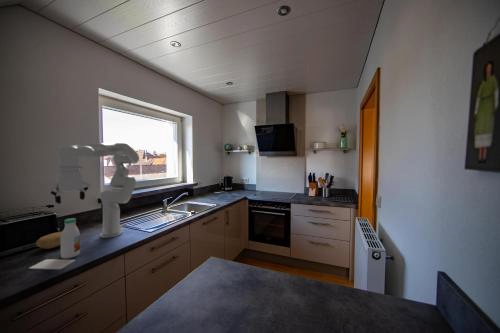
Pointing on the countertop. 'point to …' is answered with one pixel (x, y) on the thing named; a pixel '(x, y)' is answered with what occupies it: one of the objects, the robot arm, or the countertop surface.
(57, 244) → the potato
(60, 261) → the pad
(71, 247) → the milk bottle
